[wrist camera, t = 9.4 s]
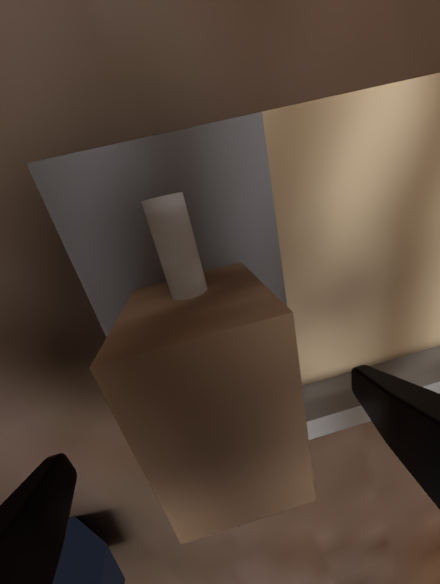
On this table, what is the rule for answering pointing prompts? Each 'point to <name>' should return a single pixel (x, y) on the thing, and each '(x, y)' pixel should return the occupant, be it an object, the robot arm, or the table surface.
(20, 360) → the table surface
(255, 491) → the brown block with peg
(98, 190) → the board
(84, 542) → the glue gun
